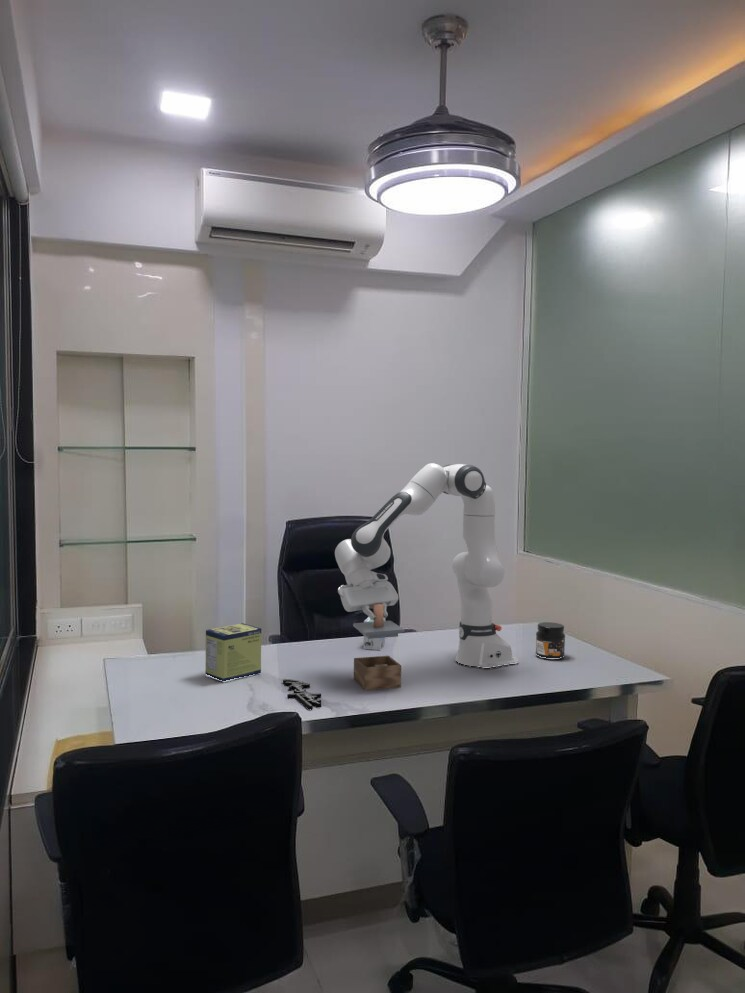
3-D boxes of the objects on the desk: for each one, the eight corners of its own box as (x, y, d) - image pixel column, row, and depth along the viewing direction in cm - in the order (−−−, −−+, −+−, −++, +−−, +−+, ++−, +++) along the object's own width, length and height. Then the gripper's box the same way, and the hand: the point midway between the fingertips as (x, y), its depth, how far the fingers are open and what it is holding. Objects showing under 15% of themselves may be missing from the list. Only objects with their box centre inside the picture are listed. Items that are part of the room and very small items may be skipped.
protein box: (261, 673, 252) (262, 627, 251) (223, 683, 241) (223, 635, 240) (242, 667, 259) (243, 622, 258) (204, 676, 248) (204, 629, 247)
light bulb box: (380, 650, 284) (380, 622, 283) (362, 649, 285) (363, 621, 285) (385, 643, 294) (385, 616, 294) (368, 642, 296) (369, 615, 295)
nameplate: (271, 680, 241) (301, 677, 245) (271, 685, 241) (301, 681, 245) (301, 707, 216) (334, 702, 220) (301, 712, 216) (334, 708, 221)
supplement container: (535, 659, 275) (535, 627, 274) (535, 652, 285) (536, 620, 285) (564, 661, 273) (565, 629, 272) (564, 654, 283) (565, 622, 282)
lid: (390, 628, 251) (390, 599, 251) (404, 637, 239) (404, 607, 238) (353, 630, 247) (353, 602, 246) (365, 640, 235) (365, 610, 234)
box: (388, 676, 251) (388, 655, 251) (400, 687, 240) (401, 665, 240) (353, 679, 248) (354, 658, 247) (364, 690, 236) (365, 668, 236)
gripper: (339, 580, 241) (357, 616, 234) (390, 574, 253) (408, 608, 246) (331, 592, 245) (349, 627, 238) (382, 585, 257) (399, 619, 250)
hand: (379, 617), depth 242 cm, fingers closed on lid, 3 cm apart
